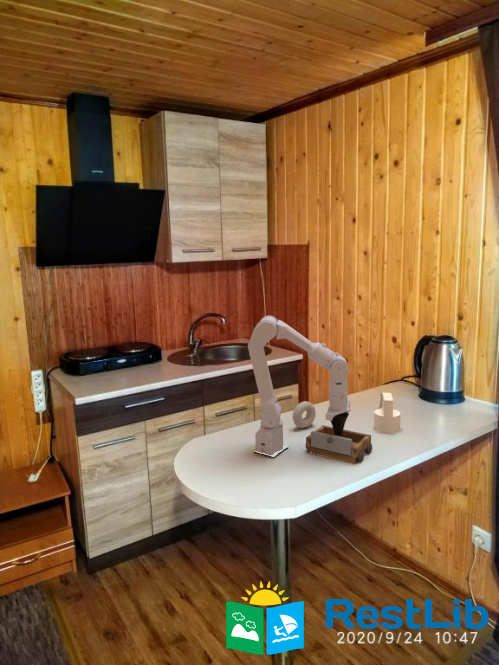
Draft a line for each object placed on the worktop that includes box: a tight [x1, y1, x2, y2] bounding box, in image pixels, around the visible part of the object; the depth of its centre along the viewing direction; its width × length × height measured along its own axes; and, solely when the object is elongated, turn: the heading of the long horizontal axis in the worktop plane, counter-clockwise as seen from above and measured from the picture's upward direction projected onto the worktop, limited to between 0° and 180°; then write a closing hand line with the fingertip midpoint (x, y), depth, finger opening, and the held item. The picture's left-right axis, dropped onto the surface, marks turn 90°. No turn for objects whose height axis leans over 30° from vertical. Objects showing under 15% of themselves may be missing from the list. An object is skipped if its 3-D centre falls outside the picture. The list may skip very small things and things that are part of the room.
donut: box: [292, 400, 317, 429], centre depth 175 cm, size 10×4×10 cm, turn 124°
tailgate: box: [310, 430, 352, 456], centre depth 150 cm, size 2×14×5 cm, turn 55°
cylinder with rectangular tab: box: [373, 392, 401, 434], centre depth 171 cm, size 9×9×12 cm
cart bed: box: [305, 425, 373, 465], centre depth 155 cm, size 12×19×5 cm, turn 55°
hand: (338, 434), depth 154 cm, fingers closed
